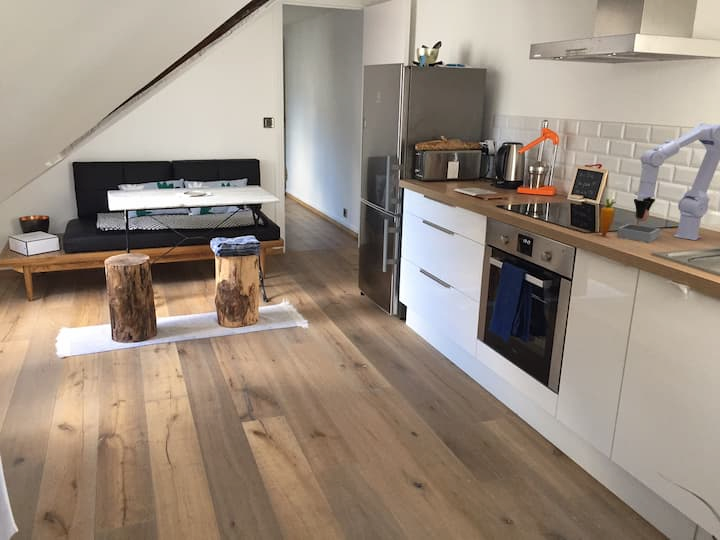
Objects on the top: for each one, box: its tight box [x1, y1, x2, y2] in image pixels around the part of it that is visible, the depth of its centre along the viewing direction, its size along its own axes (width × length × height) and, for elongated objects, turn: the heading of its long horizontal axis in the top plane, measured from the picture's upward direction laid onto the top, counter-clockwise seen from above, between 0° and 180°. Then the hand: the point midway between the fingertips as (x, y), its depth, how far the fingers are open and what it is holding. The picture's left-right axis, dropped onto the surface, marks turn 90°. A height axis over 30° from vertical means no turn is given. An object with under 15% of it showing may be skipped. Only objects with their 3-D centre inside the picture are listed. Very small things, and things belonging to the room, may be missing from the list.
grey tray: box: [616, 223, 661, 244], centre depth 235 cm, size 14×12×4 cm
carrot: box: [599, 197, 617, 237], centre depth 231 cm, size 5×5×15 cm
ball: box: [634, 209, 650, 222], centre depth 233 cm, size 5×5×5 cm
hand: (641, 217), depth 233 cm, fingers closed on ball, 5 cm apart
